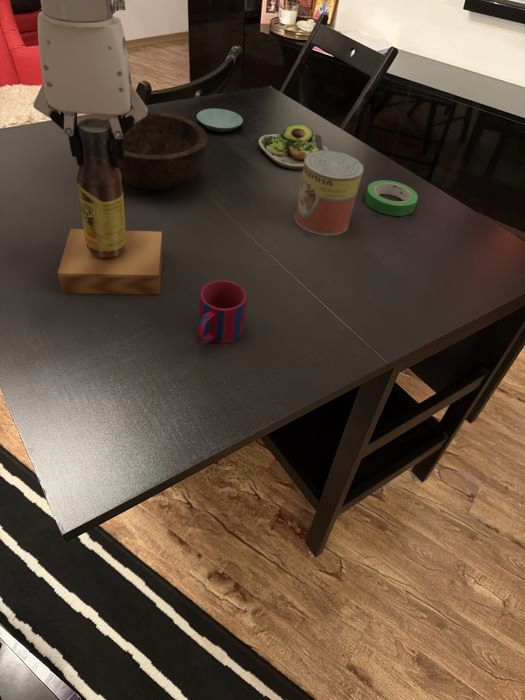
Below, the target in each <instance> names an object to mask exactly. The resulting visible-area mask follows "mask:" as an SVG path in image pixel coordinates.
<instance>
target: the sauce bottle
mask: <svg viewBox="0 0 525 700" xmlns="http://www.w3.org/2000/svg"><path fill="white" fill-rule="evenodd" d="M104 120H105V119H100V118H94V117H93V118H85V119H82V120H81V121H80V122H79V123H77V125H78V129H79V135H80V137H81V143H82V155H83V165H82V166H78V171H77V175H76V186H77V193H78V201H79V208H80V209H79V210H80V214H81V215H80V216H81V223H82V229H83V230H84V237H85V242H86V244H87V248H88V250H89V251H90V252H91V253H92V254H94V255H95V256H97V257H106V258H109V257H114V256H117V255H120V254H121V253H123V252H124V249H125V242H126V231H127V230H126V216H125V202H124V189H123V183H122V182H123V180H121V179H122V177H121V172H120V169H119V168H115V167H113V160H112V152H111V145H110V138H111V128H110V125H109V123H108V122H106V121H104ZM125 230H126V231H125Z"/></svg>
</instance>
